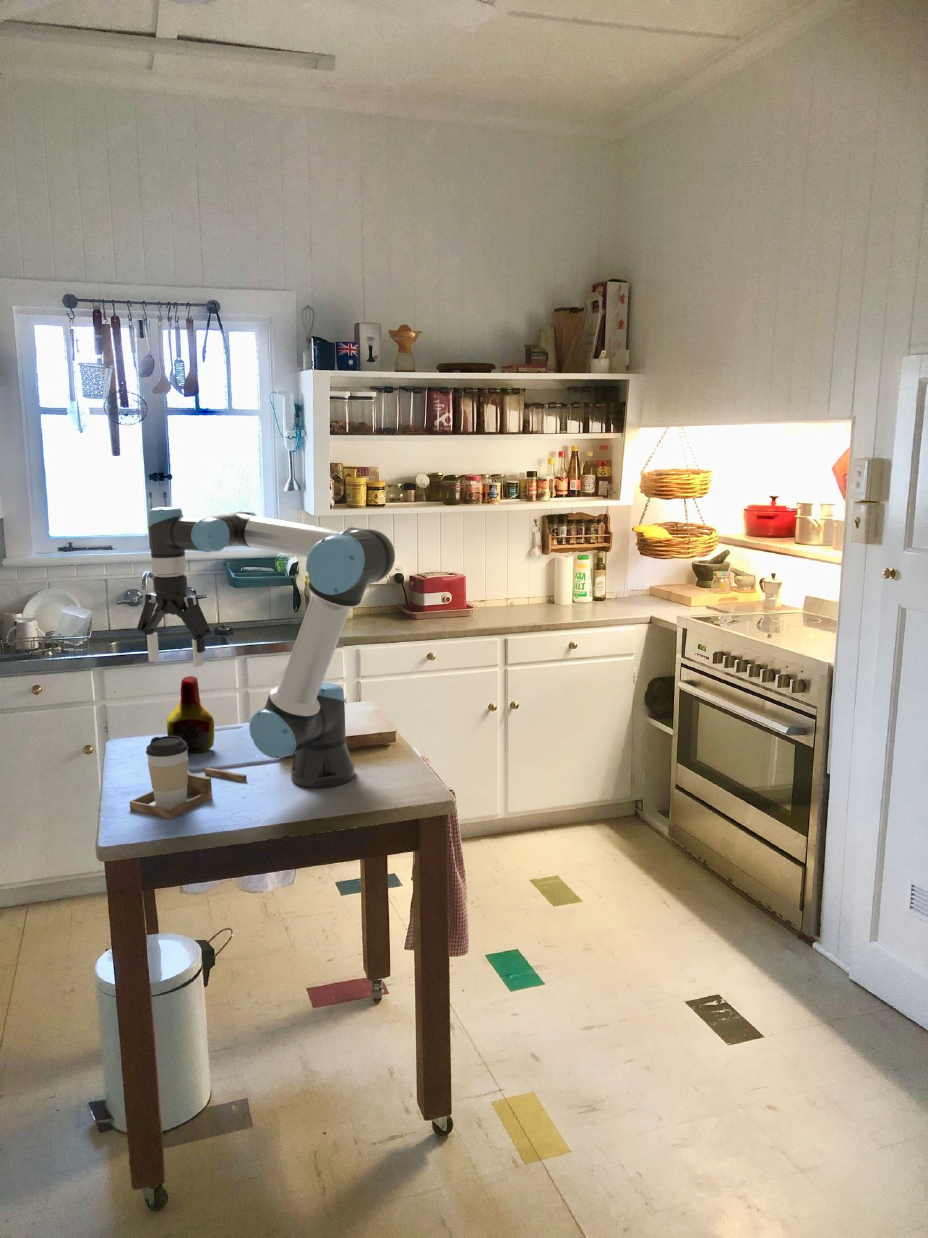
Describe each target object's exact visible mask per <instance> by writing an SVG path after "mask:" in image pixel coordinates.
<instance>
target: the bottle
mask: <svg viewBox="0 0 928 1238" xmlns="http://www.w3.org/2000/svg"><path fill="white" fill-rule="evenodd" d="M166 729H167V730H166V731H167V732H166V733H167V736H178V737H181V738H182V740H184V741H186V742H187V746H188V750H187V753H203V752H206V751H209V750H211V749H212V747H213V746H214V743H215V742H214V741H215V720H214V717H213V715H212V714H211V712H210V711H208V709H206V707H204V706H203V704H202V703H201V697H200V688H199V682H198V678H197V677H196V676H193V675H192V676H191V675H189V676H185V677H183V678H182V679H181V681H180V701H179V703H178V705H177V706H176V707H175V708H174V709H173V710H172V711H171V712H170V713H169V714H168V716H167V719H166Z"/></svg>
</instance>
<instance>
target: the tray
mask: <svg viewBox="0 0 928 1238" xmlns="http://www.w3.org/2000/svg"><path fill="white" fill-rule="evenodd" d="M188 796H189V797H188ZM191 797H192V798H191ZM212 799H213V787H212V778H211V777H209V776H206V775H199V774H194V773H190V772H188V784H187V801H186V802H184V803H182V804H180V805H178V806H176V807H174V808H171V809H166V808H162V807H157V806H156V804H155V798H154V792H153V790H152V791H148V792H147V793H144V794H143V795H140V796H139V797H136V798H134V799H132V800H130V801H129V809H130V811H133V812H137V813H138V812H139V813H141V814H146V815H147V814H148V815H151V816H155V817H160V818H163V819H169V820H172V819H173V820H174V818H177V817H178V816H180V815H182V814H184V813H187V812H189V811H191V810H193V809H195V808H196V807H199V806H200V805H202V804H205V803H206V802H208V801H210V800H212ZM148 803H149V804H148Z"/></svg>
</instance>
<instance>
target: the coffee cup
mask: <svg viewBox="0 0 928 1238" xmlns="http://www.w3.org/2000/svg"><path fill="white" fill-rule="evenodd" d="M187 750H188V746H187V742H186V741H184V740H182V738H181V737H178V736H168V735H164V736H155V737H153V738H151V740H150V743H149V744H148V745H147V746H146V751H145V754H146V756H147V761H148V762H147V765H148V770H149V778H150V784H151V788H152V791H153V792H154V798H155V800H154V801H155V804H156V806H157V807H162V808H166V809H171V808H174V807H176V806H178V805H180V804H182V803H184V802H186V801H187V797H188V795H187V784H188V773H189V757H188V752H187Z"/></svg>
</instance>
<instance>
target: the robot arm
mask: <svg viewBox="0 0 928 1238" xmlns="http://www.w3.org/2000/svg"><path fill="white" fill-rule="evenodd" d="M147 528H148V532H149V545H150V556H151V557H150V558H151V571H152V572H151V573H152V574H153V577H152V582H153V583H152V584H153V591H154V592H153V591H152V592H149V593H145V595H144V598H145V599H144V604H143V607H142V608H143V609H142V611H141V614H140V616H139V617H140V618H139V621H138V623H137V628H136V629H137V631H138V632H142V633H143V634H144V639H145V646H146V648H147V654H148V662H149V663H153V662H155V661H158V660H160V650H159V649H160V648H159V639H158V632H157V630H156V629H157V627H158V626H159V624H160V623H161V621H162V620H163V618H164V616H165V615H169V614H170V615H174V616H175V615H176V616H177V617H178V618H180V619H181V621H182V623H184V625H185V627H186V628H187V629H188V630H189V632H190V633H191V635H192V637H193V638H192V639H191V644H192V645H191V646H192V658H193V659H192V661H193V668H198V667H200V666H204V665H205V659H204V653H205V651H206V641H205V639H206V637H210V636H212V630H211V629H210V626H209V623H208V622H207V619H206V617H205V615H204V613H203V611H202V609H201V606H200V603H199V598H198V596H197V595H192V596H187V592H186V591H187V589H188V580H187V579H188V578H187V575H186V574H185V572H187V568H186V551H196V552H198V551H199V552H204V553H210V552H221V551H222V550H224V548H228V547H232V546H242V547H246V548H254V549H258V550H264V551H269V552H274V553H281V554H285V555H291V556H295V557H296V556H297V557H300V558H301V557H302V558H305V559H306V561H305V562H306V563H305V572H307V574H308V575H307V579H308V581H309V582H308V585H307V587H308V589H309V592H310V594H311V598H310V601H309V603H308V606H307V609H306V611H305V614H304V616H303V617H304V618H303V619H302V623H301V625H300V628H299V629H298V630H299V631H298V634H297V636H296V639H295V642H294V645H293V648H292V650H291V653H290V655H289V658H288V662H287V664H286V667H285V669H284V670H285V671H284V673H283V675H282V678H281V681H280V684H279V685H276V686H274V687H272V689H270V691H269V695H268V697H267V698H266V699H267V700H266V702H265V705H264V707H263V708H262V709H261V708H260V709H259V710H257V711H256V712H254V713H253V715H252V716H251V718H250V721H249V727H248V728H249V729H248V730H249V735H250V737H251V739H252V741H253V744H254V746H255V747H256V748H257V749H258V751H259V752H260V753H262V754H263V755H265V756H266V757H268V758H270V759H271V758H272V759H277V760H278V759H283V758H286V757H288V756H289V757H290V756H291V755H294V756H293V761H292V765H291V768H290V780H291V781H292V783H293V784H295V785H297V786H301V787H306V788H315V789H317V788H318V789H319V788H330V787H335V786H340V785H342V784H346V783H348V782H350V781H351V780H353V778H354V777H355V765H354V762H353V761H352V758H351V754H350V752H349V749H348V747H347V740H346V739H347V737H346V734H347V733H346V711H345V709H346V707H345V706H346V705H345V703H346V699H345V694H344V689H343V686H340V685H339V684H336V683H332V682H324V679H325V677H326V674H327V671H328V670H329V667H330V664H331V661H332V660H333V659H332V658H333V655H334V654H335V650H336V648H337V645H338V644H339V643H338V642H339V640H340V639H341V638H340V637H341V634H342V632H343V631H344V626H345V624H346V621H347V619H348V617H349V613H350V611H351V609H353V608H356V607H358V606H359V605H360V604H361V603H362V599H363V597H364V594H365V592H366V589H367V586H368V585H371V584H374V583H376V582H379V581H382V580H383V579H384V578H385V577H387V576H388V575H389V573H390V572H391V571H392V569H393V567H394V565H395V560H396V553H395V548H394V546H393V545H394V544H392V542H391V540H390V539H389V537H387V536H386V535H385V534H384V533H383V532H381V531H378V530H376V529H370V528H359V527H352V526H351V527H350V526H349V527H347V528H345V529H344V530H343V529H338V528H337V529H336V528H330V527H324V526H319V525H312V524H308V523H307V524H306V523H300V522H294V521H289V520H288V521H287V520H282V519H276V518H271V517H265V516H258V515H257V514H256V513H254V512H252V511H241V510H240V511H237V512H230V513H226V514H225V513H224V514H217V515H209V516H202V517H201V516H200V517H199V516H197V517H196V516H195V517H194V516H193V517H189V516H188V517H187V516H184V515H183V511H182V509H181V507H176V506H163V507H162V506H161V507H153V508H151V509H150V510H149V511H148V526H147Z"/></svg>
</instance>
